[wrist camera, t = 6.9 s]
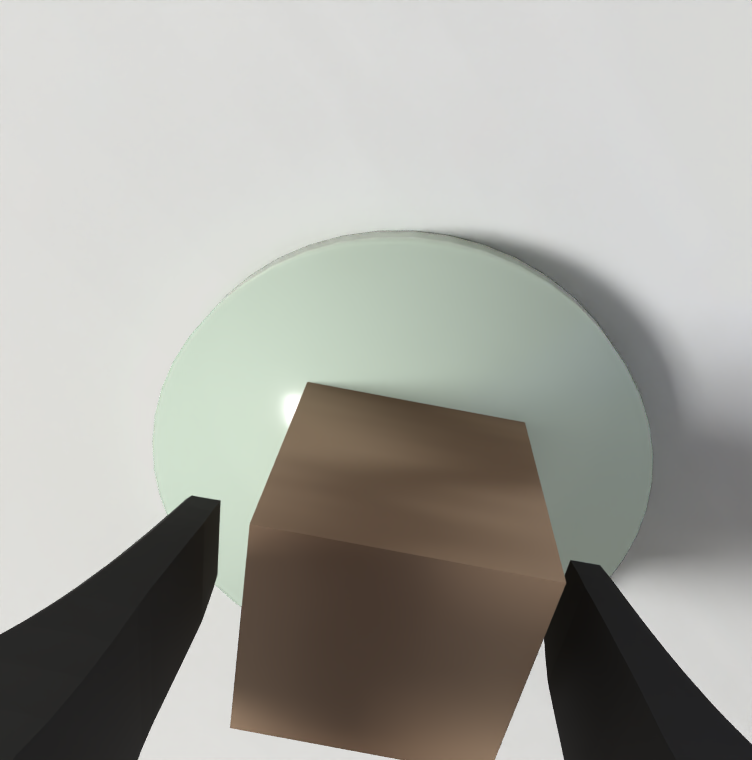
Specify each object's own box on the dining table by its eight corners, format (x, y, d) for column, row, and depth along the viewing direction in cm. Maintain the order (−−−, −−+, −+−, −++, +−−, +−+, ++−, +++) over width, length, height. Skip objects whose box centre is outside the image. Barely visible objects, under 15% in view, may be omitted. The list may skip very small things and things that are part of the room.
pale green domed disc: (719, 288, 14) (743, 306, 13) (554, 661, 19) (562, 696, 18) (177, 182, 14) (156, 192, 13) (165, 586, 19) (149, 617, 18)
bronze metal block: (524, 422, 14) (566, 582, 10) (473, 584, 17) (488, 775, 12) (307, 381, 14) (249, 523, 10) (285, 549, 17) (230, 727, 12)
